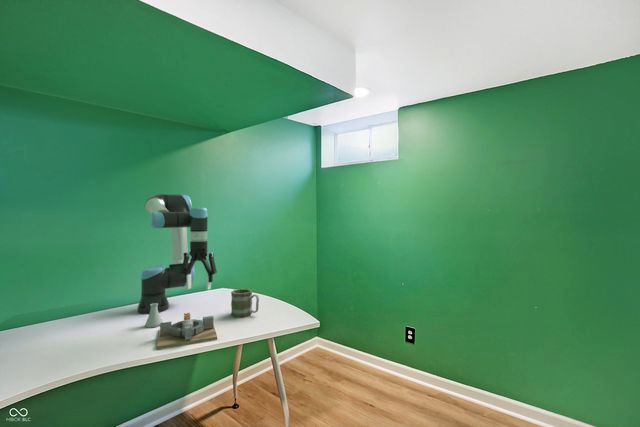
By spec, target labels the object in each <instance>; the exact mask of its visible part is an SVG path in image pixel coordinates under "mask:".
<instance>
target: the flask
mask: <svg viewBox="0 0 640 427" xmlns="http://www.w3.org/2000/svg"><path fill="white" fill-rule="evenodd" d="M157 305H158V303H153V304H150V306H151V310H150V313H149V314H148V318H147V319H146V322H145V324H144V327H145V328H148V329H149V328H157V327H160V323H164V322H163V320H162V318H161V315H160V312H158V308H157Z"/></svg>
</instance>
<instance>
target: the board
mask: <svg viewBox="0 0 640 427" xmlns="http://www.w3.org/2000/svg"><path fill="white" fill-rule="evenodd" d="M193 320H194V319H193ZM193 320H192V319H190V320H184V319H183V320H181V321H182V328H181V329H185V325H191V326H192V328H193ZM158 333H159V334H158V340H157V344H156V347H157V348H156V349H157V351H158V350H164V349H169V348H174V347H176V348H177V347H182V346H188V345H192V344H193V345H194V344H198V343H204V342H211V341H216V340H218V335H217V331H216V328H215V325H214V324H213V328H208V329H204V331H202V332H200V333H198V334H196V335H195V334H194V335H192V339H190V340H185V337H182V336H181V337H177V336H171V334H169V335H163V336H160V331H159V332H158Z"/></svg>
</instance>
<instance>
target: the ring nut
mask: <svg viewBox="0 0 640 427" xmlns="http://www.w3.org/2000/svg"><path fill="white" fill-rule="evenodd" d="M214 318H215V317H214V315H209V316H203V317H202V319H194V318H193V319H191V313H190V312H186V313H183V320H181V321H177V322H175V323H173V324H172V321H167V322H163V323H160V326H159V332H160V336H163V335H169V334H171V336H177V337H181V336H182V337H185V340H190V339H192V335H194V334H195V335H196V334H198V333H200V332H202V331H204V329H208V328H213V325H214ZM184 320H193V328H192V326H191V325H185V329H181V328H182V321H184Z"/></svg>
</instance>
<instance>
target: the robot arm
mask: <svg viewBox="0 0 640 427" xmlns="http://www.w3.org/2000/svg"><path fill="white" fill-rule="evenodd" d="M144 209H145V210H146V212H147V213H148V214H150V221H149V222H150V223H149V224H150V227H151V228H153V229H170V235H171V236H170V238H171V239H170V240H171V241H170V242H171V244H170V246H171V262H170V263H169V264H168V267H166V265H163V264H160V265H155V266H154V265H153V266H150V267H147V268H144V269H143V270H142V271H141V277H140V280H141V284H140V287H141V288H140V293H141V295H140V300H139V303H138V305H137V313H139V314H148V315H149V314H150V310H151V306H150V304H153V303H158V305H157V308H158V312H159V313H161V312H163V311H164V312H165V311H167V310H168V309H169V308H170V303H169V300H168V298H167V294H166V290H167V289H175V288H185V287H186V290H189V289H190V290H191V289H192V284H193V282H194V281H195V280H194V279H195V274H196V273H195V272H196V271H195V270H196V269H195V263H196V262H198V261H199V262H201V263H202V265H203V267H204V269H205V270H206V274H207V275H206V291H208V290H211V289H212V282H213V281H214V280H213V276H214V275H215V274H217V272H218V271H217V266H216V263H215V253H214V252H209V251H208V241H207V240H208V238H209V237H208V219H209V218H208V217H209V215H208V209H207V207H193V204H192V201H191V197H190V196H189V195H187V194H186V195H184V194H166V193H164V194H163V193H159V194H155V195H152V196H150V197H148V198H147V199H146V201H145V204H144ZM188 228H189V237H190V238H189V240H190V242H189V245H188ZM188 247H189V250H190V251H189V250H188ZM190 256H191V258H190ZM207 257H208V258H207Z"/></svg>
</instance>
